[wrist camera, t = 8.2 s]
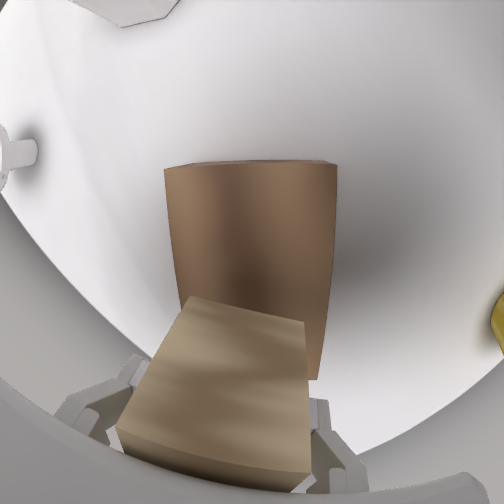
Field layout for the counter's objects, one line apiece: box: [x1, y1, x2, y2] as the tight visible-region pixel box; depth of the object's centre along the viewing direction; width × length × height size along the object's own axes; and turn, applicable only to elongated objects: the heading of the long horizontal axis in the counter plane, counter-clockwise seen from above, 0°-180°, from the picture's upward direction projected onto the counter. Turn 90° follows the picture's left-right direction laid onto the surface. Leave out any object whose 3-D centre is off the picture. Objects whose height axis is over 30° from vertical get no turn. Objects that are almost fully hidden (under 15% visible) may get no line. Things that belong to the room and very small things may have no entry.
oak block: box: [115, 295, 311, 493], centre depth 9 cm, size 5×5×7 cm
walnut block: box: [164, 160, 337, 380], centre depth 21 cm, size 10×16×6 cm, turn 2°
